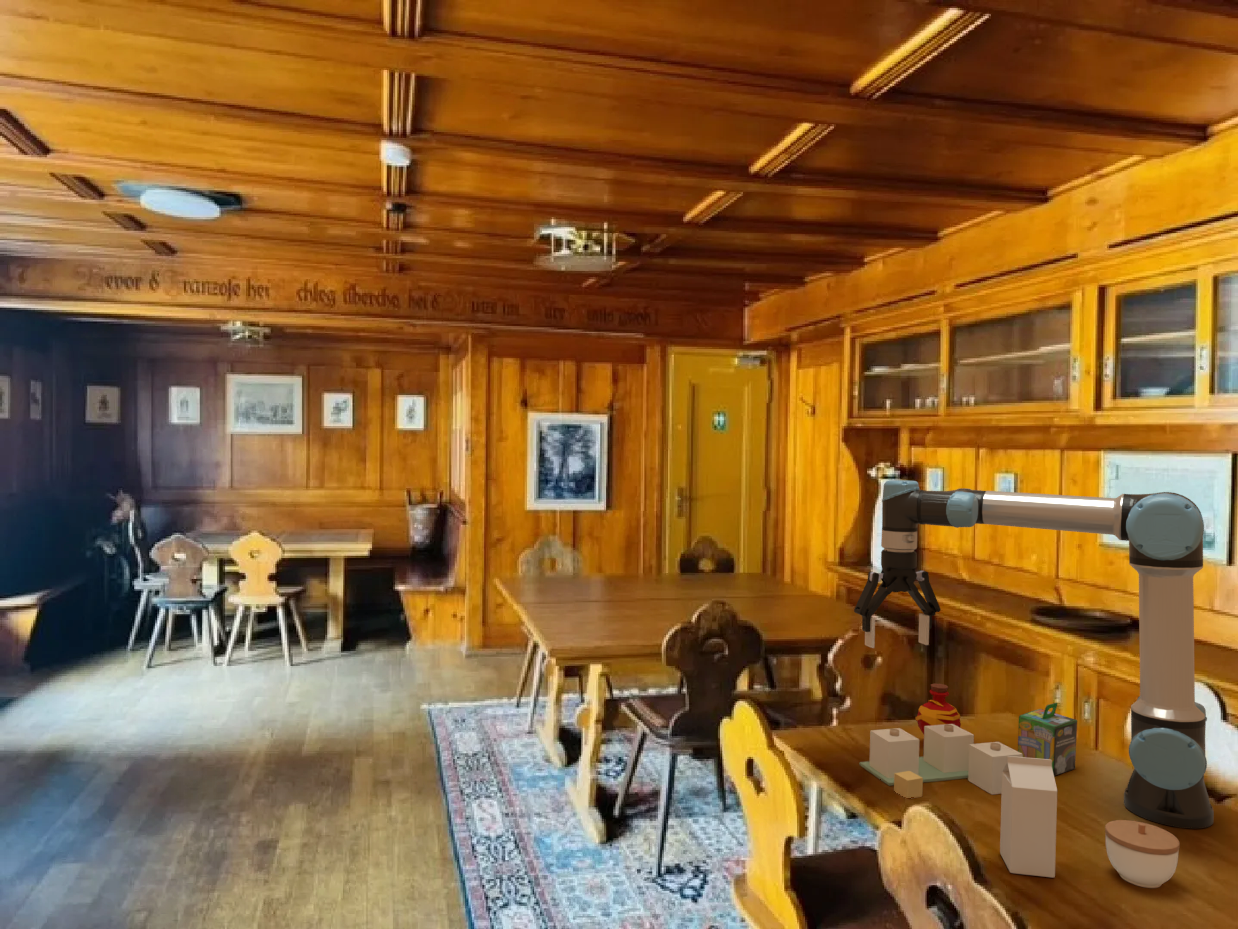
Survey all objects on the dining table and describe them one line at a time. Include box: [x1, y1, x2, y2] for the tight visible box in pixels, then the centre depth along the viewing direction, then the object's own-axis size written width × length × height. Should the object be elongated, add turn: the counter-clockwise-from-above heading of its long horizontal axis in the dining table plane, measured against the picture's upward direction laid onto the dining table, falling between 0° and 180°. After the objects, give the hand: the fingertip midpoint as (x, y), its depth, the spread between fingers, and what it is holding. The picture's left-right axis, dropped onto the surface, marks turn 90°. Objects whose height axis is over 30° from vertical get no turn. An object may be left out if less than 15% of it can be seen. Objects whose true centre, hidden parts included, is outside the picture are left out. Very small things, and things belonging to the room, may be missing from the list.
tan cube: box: [893, 771, 924, 799], centre depth 175 cm, size 4×4×4 cm
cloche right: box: [967, 741, 1023, 795], centre depth 180 cm, size 8×8×9 cm
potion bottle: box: [915, 683, 962, 735], centre depth 203 cm, size 10×10×15 cm
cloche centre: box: [923, 724, 975, 773], centre depth 190 cm, size 8×8×9 cm
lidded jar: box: [1104, 819, 1181, 889], centre depth 142 cm, size 11×11×9 cm
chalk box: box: [1017, 702, 1078, 777], centre depth 192 cm, size 9×9×15 cm
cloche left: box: [869, 727, 920, 778], centre depth 186 cm, size 8×8×9 cm
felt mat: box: [859, 756, 968, 787], centre depth 188 cm, size 12×24×1 cm, turn 105°
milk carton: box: [999, 756, 1058, 878], centre depth 145 cm, size 7×7×19 cm
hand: (896, 645), depth 186 cm, fingers open, 13 cm apart
